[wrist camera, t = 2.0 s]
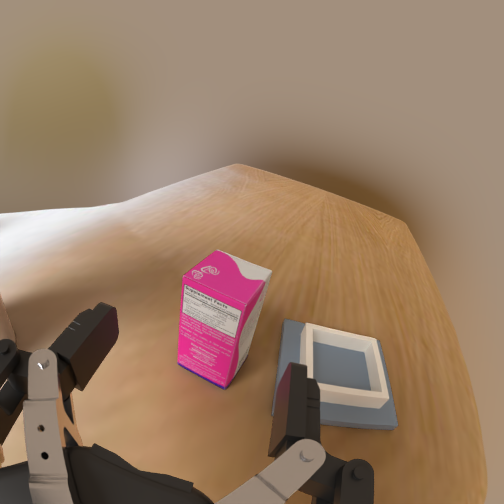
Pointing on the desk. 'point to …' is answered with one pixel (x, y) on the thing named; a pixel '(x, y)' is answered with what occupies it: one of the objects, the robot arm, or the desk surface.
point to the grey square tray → (341, 374)
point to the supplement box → (219, 315)
